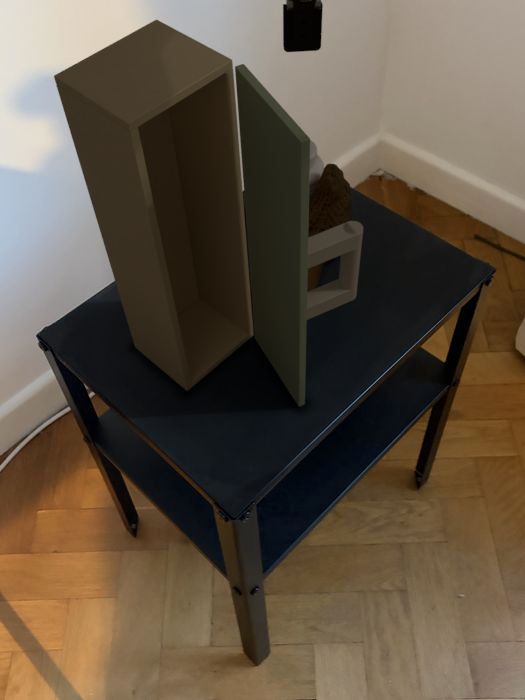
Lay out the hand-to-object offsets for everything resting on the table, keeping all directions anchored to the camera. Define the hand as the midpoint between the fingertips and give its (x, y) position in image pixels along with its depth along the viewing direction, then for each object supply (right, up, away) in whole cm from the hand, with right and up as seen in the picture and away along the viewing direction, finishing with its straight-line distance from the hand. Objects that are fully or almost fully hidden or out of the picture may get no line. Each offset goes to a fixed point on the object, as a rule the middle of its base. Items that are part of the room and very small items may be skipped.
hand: (297, 18), depth 66 cm
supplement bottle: (+1, -15, +20) cm, 25 cm away
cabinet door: (+1, -31, +8) cm, 32 cm away
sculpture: (+2, -22, +14) cm, 27 cm away
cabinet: (-10, -29, +10) cm, 32 cm away
